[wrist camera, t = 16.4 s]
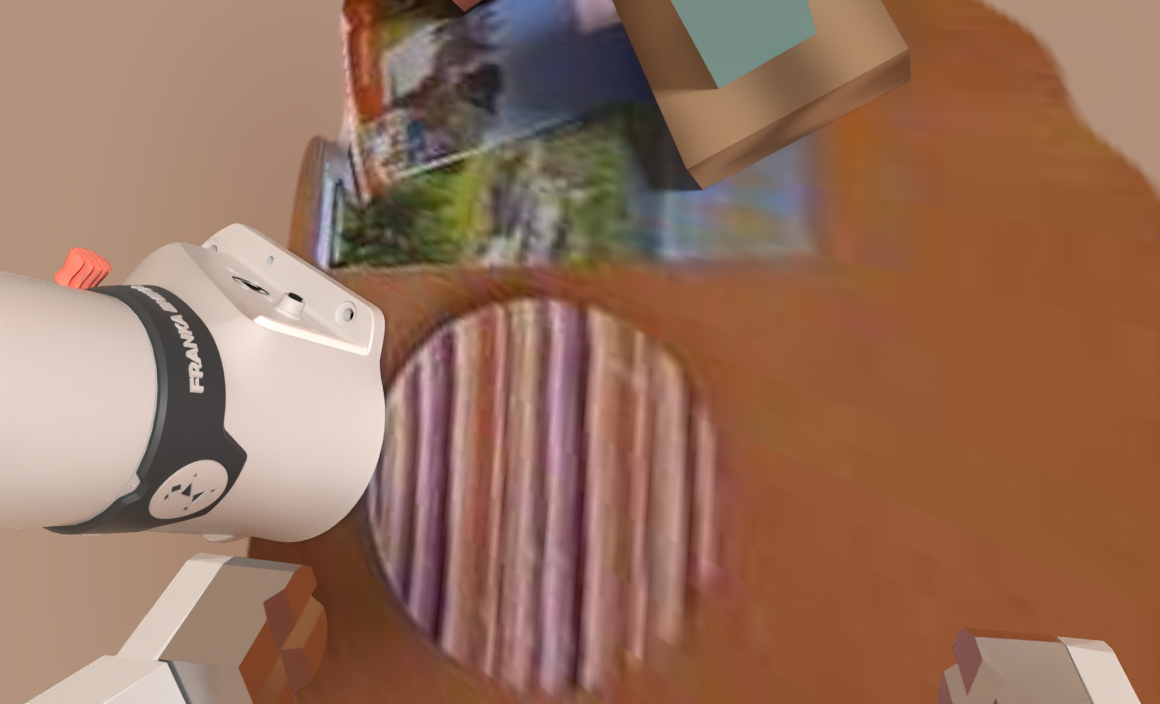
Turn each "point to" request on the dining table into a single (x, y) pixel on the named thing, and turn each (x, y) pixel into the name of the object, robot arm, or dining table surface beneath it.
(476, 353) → the dining table surface
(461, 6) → the teapot
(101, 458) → the robot arm
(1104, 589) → the dining table surface
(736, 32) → the teal pillar
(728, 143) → the walnut plinth
